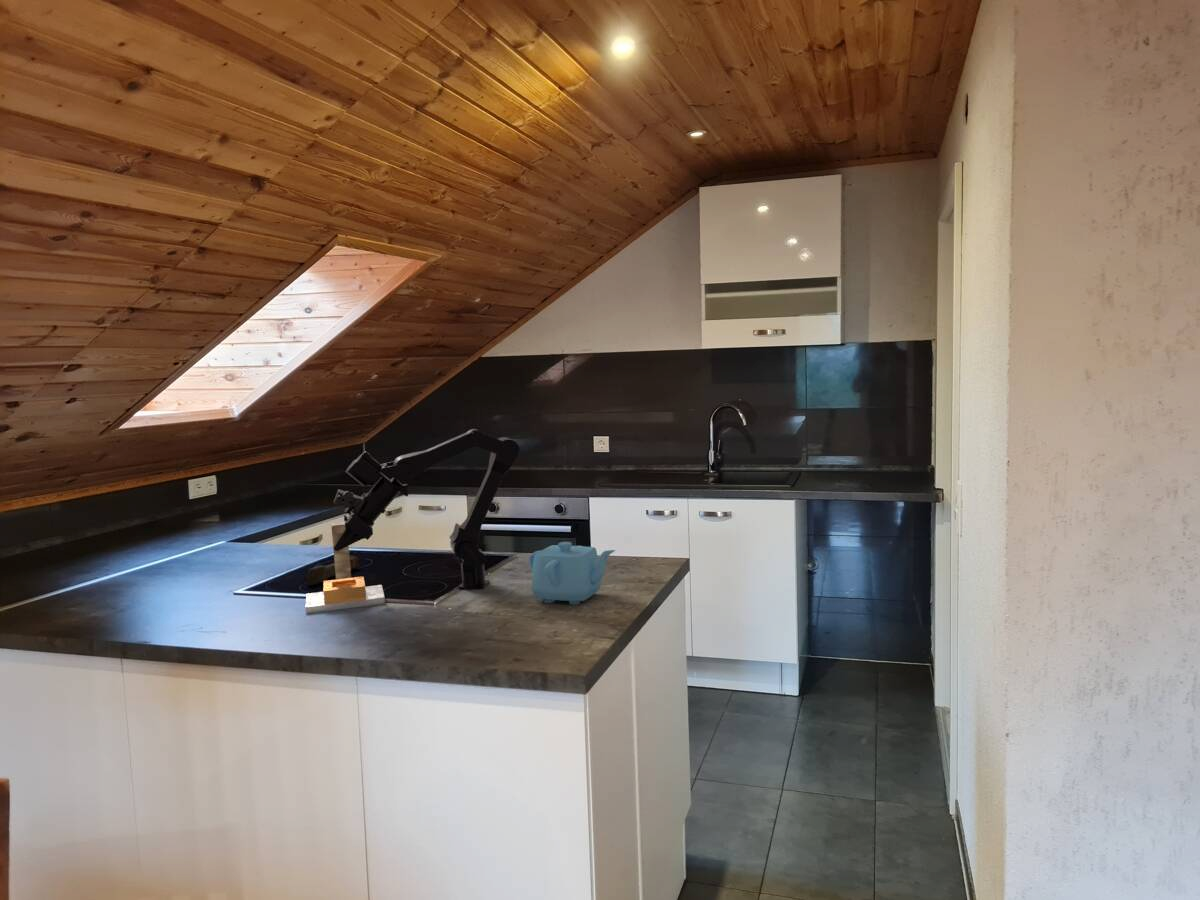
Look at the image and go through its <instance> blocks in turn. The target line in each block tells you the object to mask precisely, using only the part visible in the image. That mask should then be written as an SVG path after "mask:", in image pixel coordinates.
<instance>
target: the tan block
mask: <svg viewBox="0 0 1200 900" xmlns="http://www.w3.org/2000/svg"><path fill="white" fill-rule="evenodd" d="M330 524H331V538H332V547H333V548H332V549H333V559H334V561H333V562H334V563H335V573H336V575H335V580H337V579H346V578H352V572H351V571H352V569H350V557H349V556H350V549H349V547H350V545H349V546H347V547H345V548H343V549H341V550H339V551H336V550H334V547H335V545H336V544H337V542H338V540H339V539H340V537H341V535H342V534H343V532H344V531H345V522H344V521H338V522H331V523H330Z"/></svg>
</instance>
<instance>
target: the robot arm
mask: <svg viewBox="0 0 1200 900" xmlns="http://www.w3.org/2000/svg"><path fill="white" fill-rule="evenodd" d="M474 447H478V448H480V449H484V450H486V451H488V452H490V455H489V460H488V467H487V471H486V472H485V473H486V474H485V475H484V477H483V480H482V482H481V484H480V487H479V489H478V490H477V494H476V495H475V498H474V500H473V503H472V505H471V508H470V510H469V512H468V513H467V517H466V519H465V520H464V521H463V522H462V523H461V524H459V523H457V522H456V523H455V525H454V527H453V531H452V533H451V534H450V535H449V539H450V543H449V544H450V548H451V550H452V551H453V553H454V555H455V556H456V557H457V558H458V559H459V560H462V561H461V562H460V568H461V569H460V570H461V583H460V584H459V585H458V586H457V589H463V590H464V589H470V590H471V589H473V590H475V589H476V590H477V589H479V590H481V589H484V588H485V587H486V586H487V585H488V584H489V583H490V579H486V574H485V563H486V560H487V556H486V554H485V553H484V552H483V550H482V549H481V548H480V547H478V546H479V542H480V537H481V530H482V525H483V523H484V521H485V519H486V517H487V515H488V512H489V510H490V508H491V505H492V504H493V501H494V498H495V497H496V494H497V492H498V490H499V487H500V484H501V482H502V481H503V478H504V477H505V474H506V473H507V472H508V471H509V470H510V469H511V468H512V466H513V465H514V464H515V462H516V461H517V459H518V457H519V456H520V453H521V452H520V451H521V450H520V446H519V444H518V443H517V442H516V441H515V440H514V439H511V438H509V437H507V436H505V437H504V436H502V437H499V438H497V437H494V436H492V435H489V434H488V433H487V434H486V433H484V432H483V431H480V430H478V429H476V428H471V429H469V430H468V431H466V432H464V433H462V434H460V435H458V436H455V437H453V438H450V439H448V440H446V441H444V442H442V443H441V442H440V443H439V444H437V445H435V446H433V447H430V448H427V449H426V450H425V449H424V450H421V451H415V452H411V453H406V454H402V455H400V456H397V457H396V458H395V459H394V461H389V462H385V463H380V462H378V461H377V460H376V459H375V458H373V456H372V455H370V453H369V452H368V451H367V450H364V451H363V452H362V453H361V454H359V456H358V457H357V458H356V459H354V460H352V462H351V463H350V464H349V466H348V467H347V469H346V470H345V473H346V474H347V475H349V476H350V477H351V478H353V479H354V480H355V481H357V482H358V483H359V484H360V485H361V486H363V487H366V486H369V487H371V486H373V487H372V488H371V489H369V491H368V492H366V493H365V492H364V493H363V494H362V495H361V496H359V495H356V494H354V492H351V491H348V490H346V491H345V490H342V489H338V490H337V492H336V494H335V497H334V500H333V504H334V506H335V505H336V506H338V507H344V508H345V509H344V515H343V519H344V520H343V522H345V531H344V532H343V534H342V535H341V537H340V539H339V540H338V542H337V544H336V545H335V547H334V550H336V551H339V550H341V549H343V548H345V547H347V546H349V547H350V546H351V545H353V544H355V543H357V542H359V541H361V540H364V539H365V540H367V541H368V540H369V539H370V538H371V537H372V536H373V535H374V532H373V531H374V530H373V526H374V525H375V522H376V521H377V519H378V518H379V517H380V516H381V515H382V514H383V515H384V513H385V512H386V511H387V510H386V509H387V508H388V506H389V505H390V504H391V503H393V501H394V500H395V498H396V497H398V495H399V494H400V493H401V494H402V495H403V496H405V497H408V496H409V492H408V491H409V490H408V488H409V485H408V484H407V483H404V484H403V483H401V482H402V481H403V482H410V481H412V480H414V479H416V478H417V477H419V476H420V475H422V474H423V473H424V472H425V471H427V470H428V469H430V468H431V467H432V466H434V465H436V464H439V463H441V462H443V461H445V460H447V459H449V458H452V457H454V456H456V455H459V454H461V453H463V452H466V451H468V450H469V449H471V448H474ZM382 472H383V473H384V474H383V473H382ZM386 475H387V476H386ZM389 477H392V478H391V479H390V478H389ZM395 477H396V478H397V479H396V478H395ZM398 479H399V480H400V481H401V482H400V481H399V480H398ZM377 480H378V481H377ZM376 481H377V482H376ZM374 483H375V484H374ZM347 514H348V515H347ZM334 550H333V551H334Z"/></svg>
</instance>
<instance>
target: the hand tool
mask: <svg viewBox="0 0 1200 900" xmlns="http://www.w3.org/2000/svg"><path fill="white" fill-rule="evenodd" d="M349 557H350V569H351V570H358V569H359V567H360V562H359V561H360V560H359V558H358V557H357V556H355V555H349ZM332 577H336V573H335V562H333V563H330V564H328V565H321V564H320V565H317V566H314V567H311V568H309V570H308V571H307V576H306V584H307V586H308V587H310V586H309V585H311V586H314V585H313V584H316V583H319V584H321V583H320V582H322V583H324V581H327V580H329V578H332ZM316 585H317V584H316Z"/></svg>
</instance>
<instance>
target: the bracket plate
mask: <svg viewBox="0 0 1200 900" xmlns="http://www.w3.org/2000/svg"><path fill="white" fill-rule="evenodd" d="M322 590H323V591H318V592H311V593H309V592H308V593H306V595H305V597H306V598H305V614H313V613H322V612H328V611H336V610H345V609H352V608H359V607H360V608H361V607H369V606H370V607H371V606H376V605H377V606H378V605H385V604H386V599H385V592H384V589H383V585H382V584H377V585H370V586H369V585H368V586H366V582H365V578H364V576H355V577H349V578H341V579H330V580H329V579H328V580H326V581H324V582H323V589H322Z"/></svg>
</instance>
